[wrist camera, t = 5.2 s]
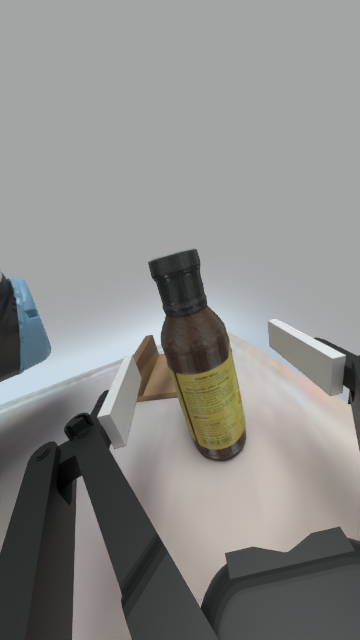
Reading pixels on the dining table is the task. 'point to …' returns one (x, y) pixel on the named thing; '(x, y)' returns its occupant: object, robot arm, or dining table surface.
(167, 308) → the sauce bottle
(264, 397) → the dining table surface
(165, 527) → the dining table surface
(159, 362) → the walnut slotted rack
